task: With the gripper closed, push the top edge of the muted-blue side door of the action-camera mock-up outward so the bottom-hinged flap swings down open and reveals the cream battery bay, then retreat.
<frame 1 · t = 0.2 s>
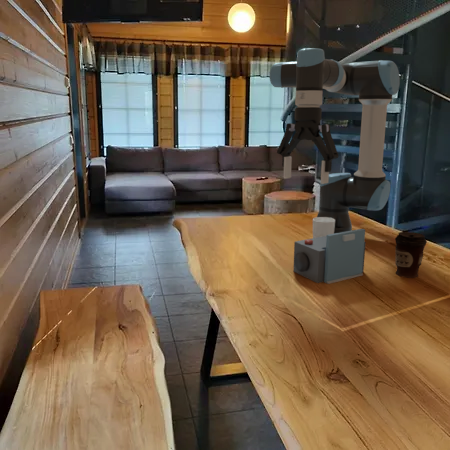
hand: (305, 180, 137), 28 cm above the table, fingers open, 13 cm apart
side door: (345, 256, 132), point 7 cm above the table, hinge at 0.0°
white cup: (322, 246, 167), on the table
camera body: (328, 273, 140), on the table
coffee cup: (406, 276, 138), on the table
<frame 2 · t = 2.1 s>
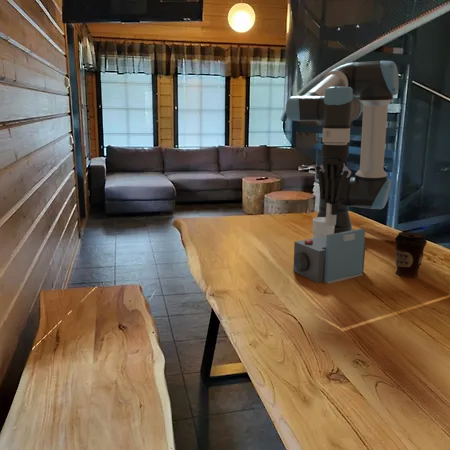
hand: (330, 224, 136), 15 cm above the table, fingers closed
nothing on the table moved.
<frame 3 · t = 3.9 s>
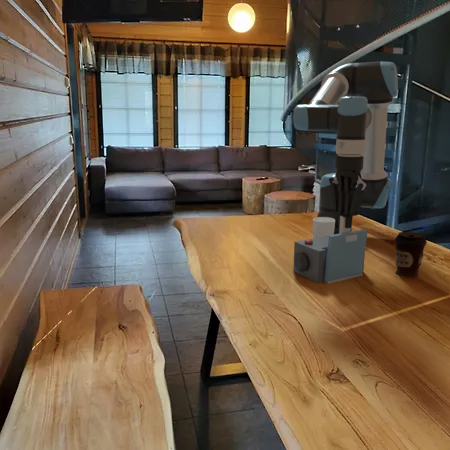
hand: (344, 238, 132), 13 cm above the table, fingers closed
side door: (346, 257, 132), point 7 cm above the table, hinge at 3.9°, touching gripper
everything else where it was.
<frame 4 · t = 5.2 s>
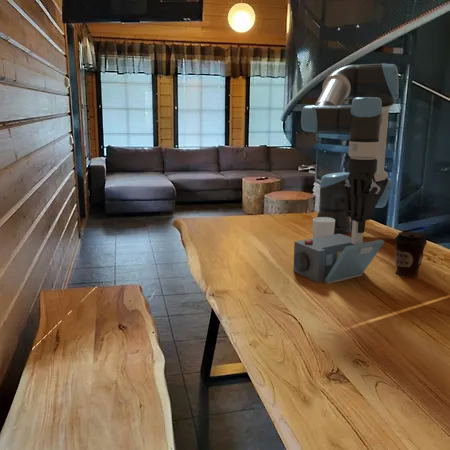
hand: (356, 243, 128), 12 cm above the table, fingers closed
side door: (354, 263, 130), point 6 cm above the table, hinge at 31.6°
everything else where it was.
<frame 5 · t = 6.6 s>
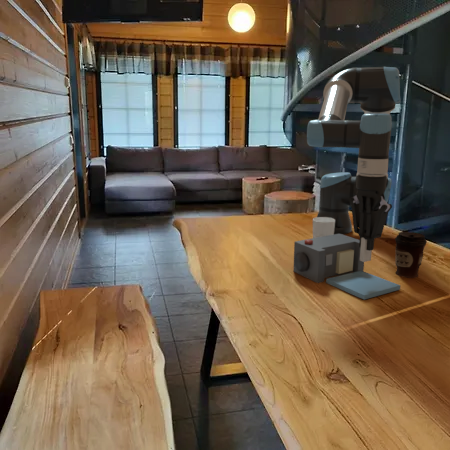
hand: (365, 260, 126), 8 cm above the table, fingers closed
side door: (362, 285, 128), point 1 cm above the table, hinge at 89.1°
everything else where it was.
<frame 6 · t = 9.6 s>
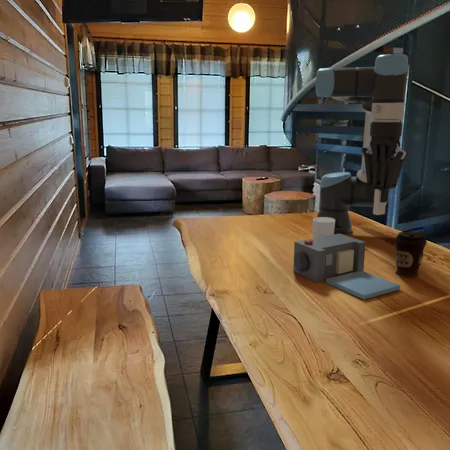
hand: (378, 213, 120), 22 cm above the table, fingers closed
nothing on the table moved.
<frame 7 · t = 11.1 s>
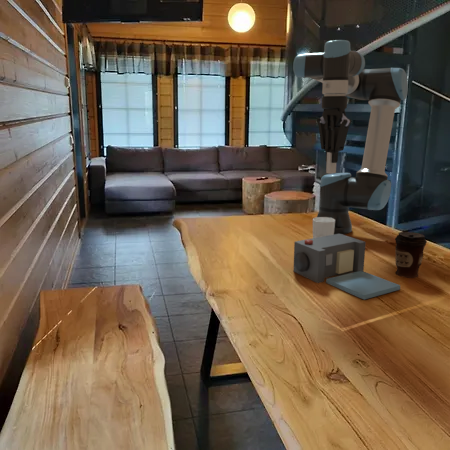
hand: (331, 172, 146), 29 cm above the table, fingers closed
nothing on the table moved.
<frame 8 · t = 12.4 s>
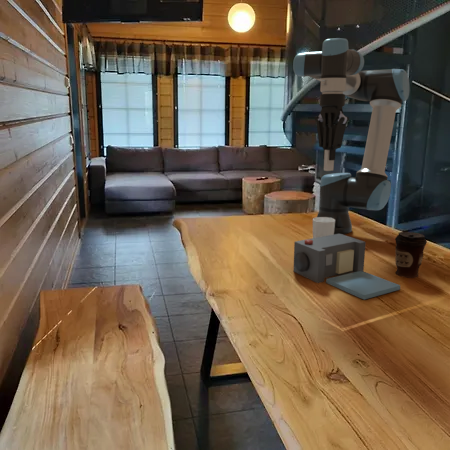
hand: (328, 170, 147), 29 cm above the table, fingers closed
nothing on the table moved.
at the end: side door at +89° (first picture: +0°) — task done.
